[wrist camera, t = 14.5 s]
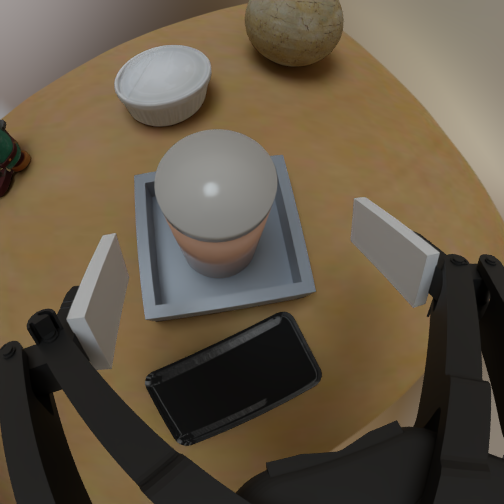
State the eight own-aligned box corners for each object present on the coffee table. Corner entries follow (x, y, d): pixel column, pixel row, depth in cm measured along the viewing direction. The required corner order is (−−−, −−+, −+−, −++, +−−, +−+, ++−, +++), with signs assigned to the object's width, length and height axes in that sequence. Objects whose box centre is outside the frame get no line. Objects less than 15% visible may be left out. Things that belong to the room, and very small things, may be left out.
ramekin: (119, 88, 34) (110, 61, 29) (197, 64, 36) (196, 35, 31) (131, 147, 32) (120, 119, 27) (223, 118, 34) (224, 87, 29)
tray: (156, 321, 27) (145, 319, 23) (144, 194, 30) (134, 175, 26) (303, 297, 29) (315, 291, 25) (276, 175, 32) (282, 154, 28)
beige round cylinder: (186, 283, 27) (159, 246, 16) (177, 212, 29) (152, 138, 17) (263, 271, 28) (289, 226, 17) (249, 201, 30) (264, 124, 18)
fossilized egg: (241, 32, 39) (249, -47, 24) (320, 40, 40) (344, -33, 25) (241, 81, 35) (251, -16, 21) (335, 90, 36) (372, 5, 22)
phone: (140, 376, 25) (288, 307, 28) (143, 375, 26) (286, 308, 29) (181, 449, 23) (326, 380, 26) (182, 446, 24) (322, 379, 27)
